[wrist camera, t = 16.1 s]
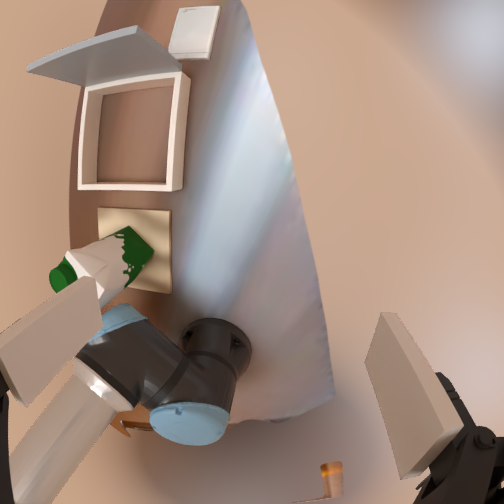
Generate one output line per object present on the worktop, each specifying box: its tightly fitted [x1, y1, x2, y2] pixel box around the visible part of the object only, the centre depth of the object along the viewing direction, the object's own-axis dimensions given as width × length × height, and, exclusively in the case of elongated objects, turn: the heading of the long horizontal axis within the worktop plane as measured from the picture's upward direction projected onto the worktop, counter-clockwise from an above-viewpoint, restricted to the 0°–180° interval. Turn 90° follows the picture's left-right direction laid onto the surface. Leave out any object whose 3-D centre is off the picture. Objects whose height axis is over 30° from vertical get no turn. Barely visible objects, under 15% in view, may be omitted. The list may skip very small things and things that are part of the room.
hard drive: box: [168, 6, 221, 61], centre depth 38 cm, size 2×8×12 cm
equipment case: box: [27, 25, 191, 191], centre depth 34 cm, size 27×20×21 cm
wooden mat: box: [98, 207, 172, 294], centre depth 51 cm, size 16×16×1 cm
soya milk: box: [49, 226, 154, 309], centre depth 41 cm, size 9×9×20 cm
